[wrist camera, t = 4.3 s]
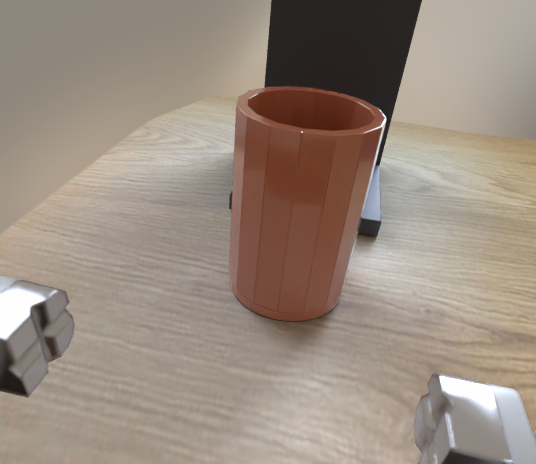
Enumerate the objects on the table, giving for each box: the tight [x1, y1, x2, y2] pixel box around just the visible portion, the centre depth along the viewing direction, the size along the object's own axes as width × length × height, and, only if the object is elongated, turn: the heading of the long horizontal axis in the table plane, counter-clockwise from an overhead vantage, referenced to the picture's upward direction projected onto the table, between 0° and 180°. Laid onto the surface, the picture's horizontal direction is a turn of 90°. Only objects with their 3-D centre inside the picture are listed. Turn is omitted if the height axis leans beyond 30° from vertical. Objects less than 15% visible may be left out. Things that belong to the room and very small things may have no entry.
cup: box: [229, 86, 387, 321], centre depth 20 cm, size 6×6×10 cm
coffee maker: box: [229, 0, 422, 236], centre depth 26 cm, size 12×10×24 cm
